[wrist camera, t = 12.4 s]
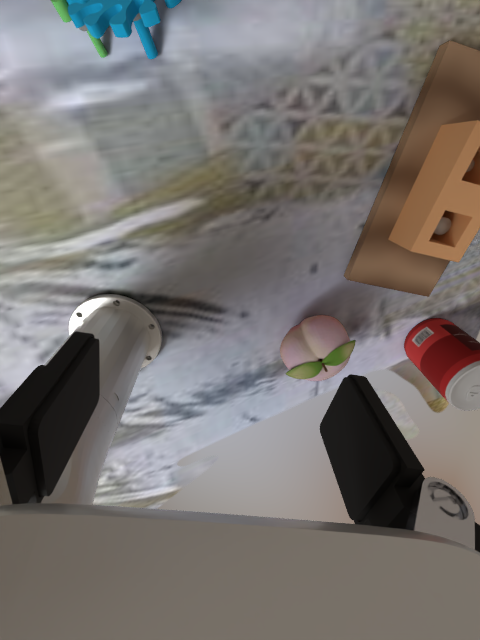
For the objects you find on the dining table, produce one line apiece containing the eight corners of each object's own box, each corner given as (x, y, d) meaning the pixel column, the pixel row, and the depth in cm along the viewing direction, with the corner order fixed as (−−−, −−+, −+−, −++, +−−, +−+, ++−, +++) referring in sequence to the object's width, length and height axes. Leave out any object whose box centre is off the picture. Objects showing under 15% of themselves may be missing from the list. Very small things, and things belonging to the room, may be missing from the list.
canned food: (398, 362, 48) (442, 414, 38) (406, 319, 44) (457, 366, 34) (446, 356, 47) (502, 407, 38) (458, 313, 43) (524, 358, 34)
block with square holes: (441, 125, 30) (477, 120, 26) (490, 140, 31) (533, 138, 27) (388, 239, 36) (410, 251, 32) (431, 249, 37) (458, 262, 33)
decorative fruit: (297, 362, 47) (313, 410, 38) (265, 329, 43) (275, 373, 35) (348, 329, 44) (379, 372, 35) (319, 290, 41) (345, 328, 32)
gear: (185, -91, 23) (180, -1, 20) (205, 7, 28) (203, 87, 26) (55, -58, 24) (35, 29, 22) (99, 29, 30) (87, 106, 27)
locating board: (422, 292, 41) (445, 308, 37) (343, 275, 40) (358, 290, 35) (542, 81, 30) (596, 69, 26) (439, 45, 28) (478, 25, 24)
